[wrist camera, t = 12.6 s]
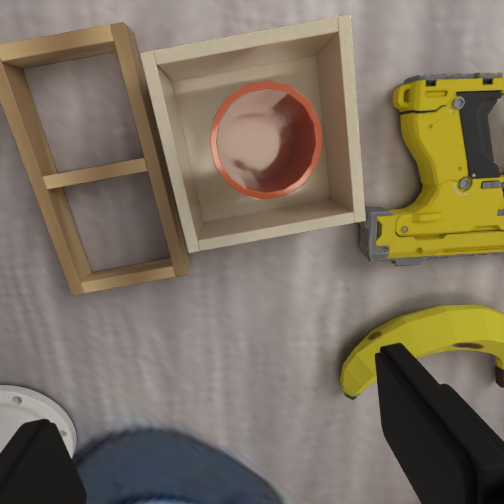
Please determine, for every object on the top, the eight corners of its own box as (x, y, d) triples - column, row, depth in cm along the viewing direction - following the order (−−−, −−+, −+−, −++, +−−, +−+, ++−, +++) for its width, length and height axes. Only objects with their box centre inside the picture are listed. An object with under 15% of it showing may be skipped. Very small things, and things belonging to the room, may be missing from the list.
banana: (326, 382, 31) (389, 460, 37) (515, 285, 28) (549, 388, 34) (314, 347, 35) (373, 422, 41) (477, 258, 32) (514, 355, 38)
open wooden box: (197, 230, 30) (188, 253, 24) (161, 73, 26) (139, 52, 20) (338, 204, 30) (365, 221, 24) (322, 44, 26) (350, 13, 20)
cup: (225, 189, 29) (222, 207, 21) (209, 107, 27) (199, 92, 19) (300, 175, 29) (327, 188, 21) (290, 93, 27) (315, 71, 19)
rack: (84, 284, 31) (72, 295, 29) (3, 56, 26) (-20, 47, 23) (190, 264, 31) (187, 274, 29) (133, 32, 26) (123, 21, 23)
